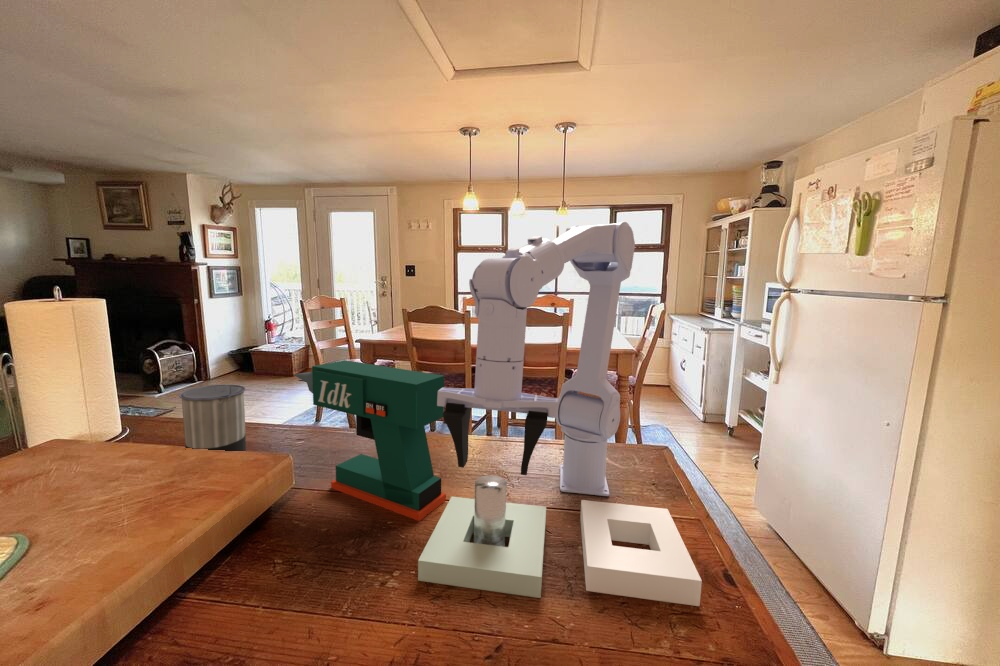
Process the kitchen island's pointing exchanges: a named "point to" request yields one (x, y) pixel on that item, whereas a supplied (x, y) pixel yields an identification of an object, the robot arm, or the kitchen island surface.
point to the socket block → (486, 551)
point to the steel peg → (490, 510)
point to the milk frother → (214, 417)
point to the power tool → (384, 432)
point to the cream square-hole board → (636, 554)
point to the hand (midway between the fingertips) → (493, 467)
